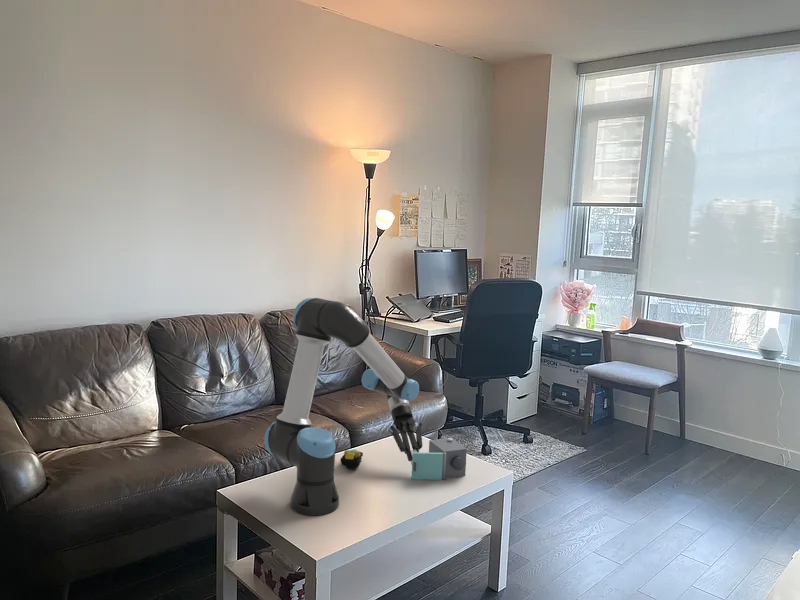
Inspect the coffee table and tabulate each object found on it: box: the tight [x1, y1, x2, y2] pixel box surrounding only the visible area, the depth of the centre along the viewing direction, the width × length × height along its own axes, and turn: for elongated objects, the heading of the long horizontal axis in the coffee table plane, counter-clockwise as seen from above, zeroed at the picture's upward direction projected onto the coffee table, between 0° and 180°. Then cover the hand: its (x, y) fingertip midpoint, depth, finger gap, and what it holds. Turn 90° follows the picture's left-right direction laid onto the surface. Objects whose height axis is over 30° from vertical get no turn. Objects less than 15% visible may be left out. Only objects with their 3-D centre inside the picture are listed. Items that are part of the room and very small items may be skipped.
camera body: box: [428, 437, 467, 479], centre depth 221 cm, size 9×14×11 cm, turn 23°
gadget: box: [340, 448, 364, 469], centre depth 224 cm, size 6×13×6 cm, turn 172°
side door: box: [411, 451, 446, 481], centre depth 213 cm, size 12×2×10 cm, turn 94°
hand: (417, 468), depth 215 cm, fingers closed
